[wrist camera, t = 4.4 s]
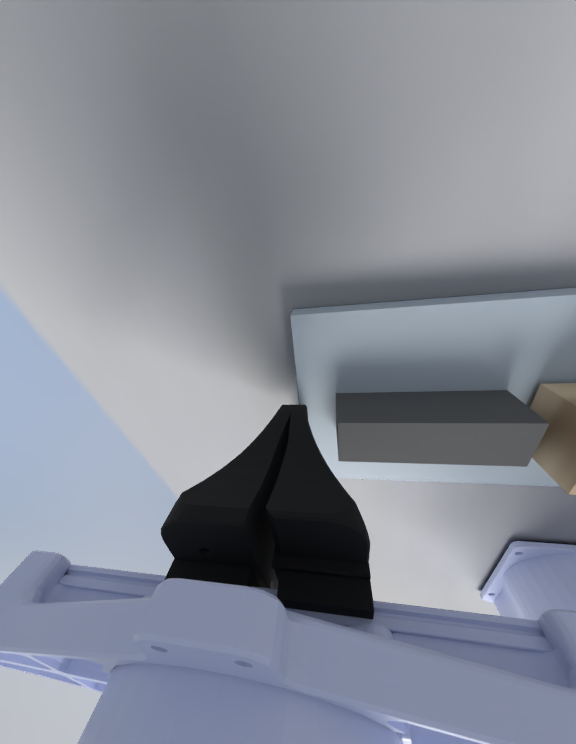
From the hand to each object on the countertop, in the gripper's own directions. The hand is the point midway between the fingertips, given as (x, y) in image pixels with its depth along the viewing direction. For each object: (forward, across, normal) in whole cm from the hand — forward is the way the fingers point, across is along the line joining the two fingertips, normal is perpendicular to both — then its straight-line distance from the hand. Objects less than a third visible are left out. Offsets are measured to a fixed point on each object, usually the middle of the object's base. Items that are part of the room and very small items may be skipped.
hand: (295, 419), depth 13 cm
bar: (+1, -6, 0) cm, 6 cm away
